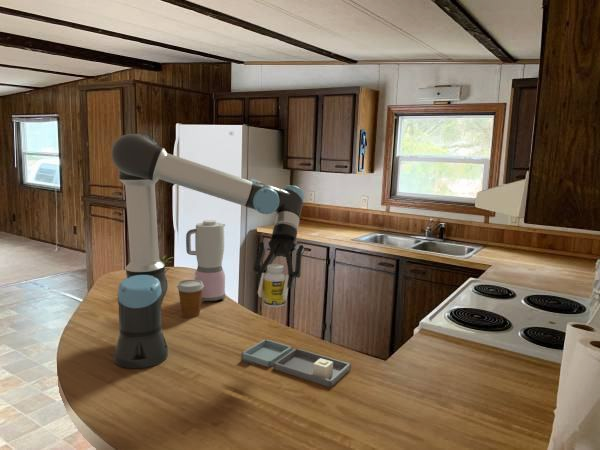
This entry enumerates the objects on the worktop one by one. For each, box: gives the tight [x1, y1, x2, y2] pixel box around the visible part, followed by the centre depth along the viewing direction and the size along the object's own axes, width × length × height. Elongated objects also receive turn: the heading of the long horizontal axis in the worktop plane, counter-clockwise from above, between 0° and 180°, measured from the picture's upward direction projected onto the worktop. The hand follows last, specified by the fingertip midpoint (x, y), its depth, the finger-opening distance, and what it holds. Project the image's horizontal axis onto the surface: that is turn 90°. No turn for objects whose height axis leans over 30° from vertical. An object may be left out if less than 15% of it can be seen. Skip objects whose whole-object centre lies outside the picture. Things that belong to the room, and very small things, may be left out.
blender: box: [185, 219, 226, 304], centre depth 190 cm, size 16×12×32 cm
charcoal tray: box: [273, 347, 352, 388], centre depth 135 cm, size 12×18×2 cm
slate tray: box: [240, 338, 293, 368], centre depth 143 cm, size 12×10×2 cm
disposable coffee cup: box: [176, 279, 204, 318], centre depth 175 cm, size 10×10×12 cm
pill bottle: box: [263, 263, 287, 308], centre depth 138 cm, size 6×6×12 cm
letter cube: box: [313, 358, 333, 379], centre depth 131 cm, size 4×4×4 cm
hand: (271, 296), depth 135 cm, fingers closed on pill bottle, 6 cm apart
